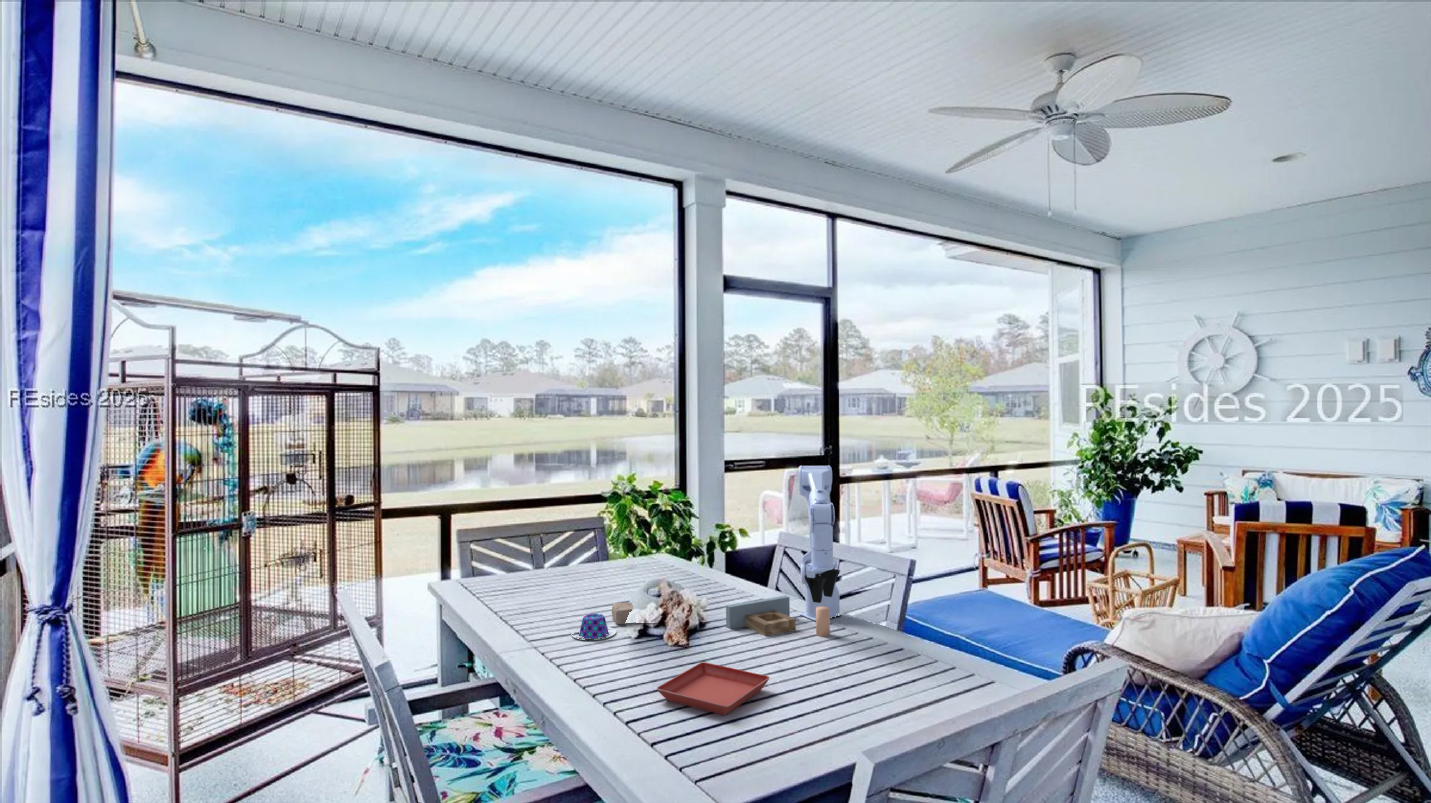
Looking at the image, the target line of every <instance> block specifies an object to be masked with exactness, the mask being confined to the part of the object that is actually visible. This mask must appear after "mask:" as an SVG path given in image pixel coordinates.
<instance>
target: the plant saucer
mask: <svg viewBox="0 0 1431 803" xmlns="http://www.w3.org/2000/svg"><path fill="white" fill-rule="evenodd" d="M770 678H771V677H770V676H769V675H764V674H760V673H756V672H750V671H747V670H742V669H737V668H733V667H729V666H723V665H718V664H715V663H710V662H706V661H703V662H699V663H697V664H696V665H694V666H692V667H691V668H689V669H687V670H684V671H683V672H681V673H680V674H678V675H676V676H674V677H673V678H671V679H669V680H668V681H665V682H664V683H663V684H660V685H659V686H657V687H656V690H657V691H658V693H659V694H660V695H661V696H662V697H663V698H664V699H666V700H667V701H668V702H672V703H675V702H676V703H675V704H678V705H679V704H680V705H683V706H687V707H692V708H694V707H695V708H694V709H699V710H702V711H707V712H711V713H714V714H718V715H721V716H722V715H723V716H727V715H728V714H729V713H731V712H733V711H735V709H737V708H738V707H739V706H741V705H742V704H743V703H745V702H747V701H748V700H749V699H751V698H752V697H754V696H756V695H757V694H759V693H760V691H761V690H762V689H763V688H764V687H765V686H766V684H767V683H768V681H770Z"/></svg>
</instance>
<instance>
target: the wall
mask: <svg viewBox="0 0 1431 803" xmlns="http://www.w3.org/2000/svg"><path fill="white" fill-rule="evenodd" d="M790 600H791V599H790V596H788V595H782V596H775V597H774V596H773V597H768V598H763V599H758V600H750V601H746V602H739V603H733V604H732V603H731V604H727V605H725V607H726V608H725V621H726V624H725V625H726V628H727V629H729V630H730V629H731V630H732V629H737V628H741V627H746V626H745V615H751V614H757V613H762V612H768V611H774V610H776V611H778V612H780V613H783V614H785V615H787V616H790V615H791V614H790V612H791V611H790V609H791V606H790ZM790 617H791V616H790Z"/></svg>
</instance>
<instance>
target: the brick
mask: <svg viewBox="0 0 1431 803" xmlns="http://www.w3.org/2000/svg"><path fill="white" fill-rule="evenodd" d="M611 605H612V607H611V616H612V619H613V620H614V623H616V625H626V624H625V622H626V620H627V617H628V615H629V612H631V611H632V609H633V605H632V602H613V603H612V604H611Z"/></svg>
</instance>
